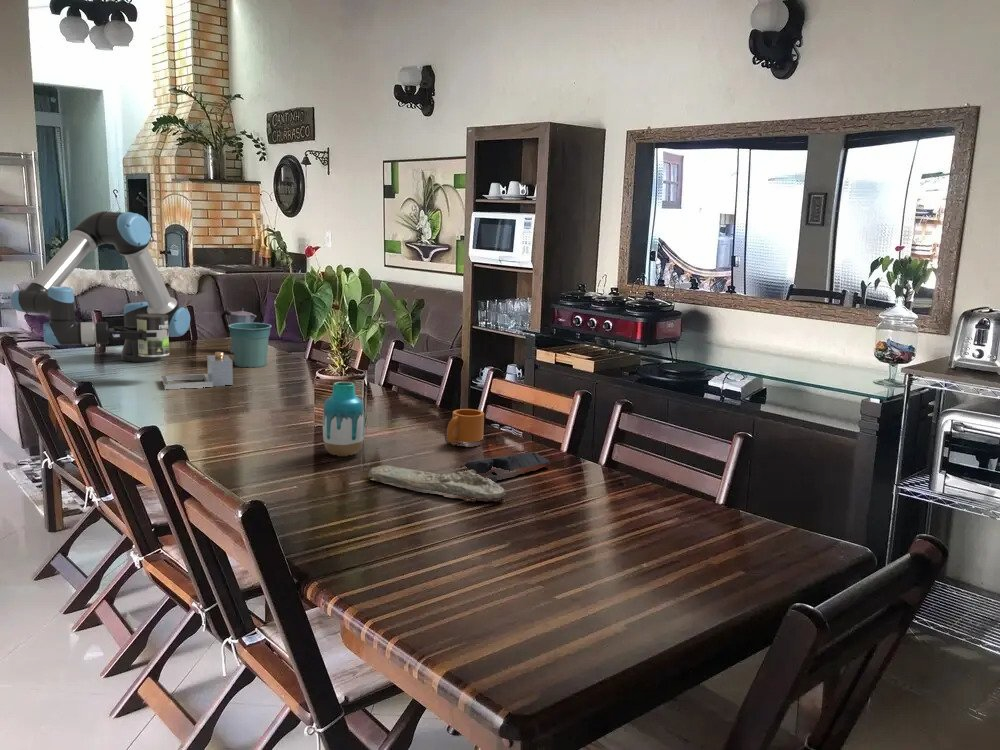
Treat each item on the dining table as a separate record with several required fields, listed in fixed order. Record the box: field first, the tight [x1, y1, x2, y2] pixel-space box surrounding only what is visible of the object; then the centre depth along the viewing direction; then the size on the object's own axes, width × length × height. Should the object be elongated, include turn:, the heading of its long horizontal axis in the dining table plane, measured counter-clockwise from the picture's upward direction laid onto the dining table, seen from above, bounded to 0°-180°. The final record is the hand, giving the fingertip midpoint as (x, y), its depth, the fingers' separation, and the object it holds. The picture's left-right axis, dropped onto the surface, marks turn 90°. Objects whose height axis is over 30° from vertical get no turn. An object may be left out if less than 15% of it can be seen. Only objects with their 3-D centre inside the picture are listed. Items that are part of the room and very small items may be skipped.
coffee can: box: [136, 313, 170, 358], centre depth 283 cm, size 10×10×14 cm
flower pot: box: [228, 322, 272, 369], centre depth 323 cm, size 16×16×16 cm
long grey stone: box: [368, 464, 506, 499], centre depth 189 cm, size 35×5×10 cm
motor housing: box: [161, 351, 234, 391], centre depth 286 cm, size 15×22×11 cm
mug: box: [446, 408, 485, 442], centre depth 226 cm, size 9×12×9 cm
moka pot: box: [221, 306, 257, 355], centre depth 348 cm, size 10×15×20 cm, turn 89°
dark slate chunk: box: [465, 451, 550, 473], centre depth 206 cm, size 15×22×5 cm
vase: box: [322, 381, 365, 457], centre depth 210 cm, size 11×11×19 cm
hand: (166, 331), depth 285 cm, fingers closed on coffee can, 10 cm apart
